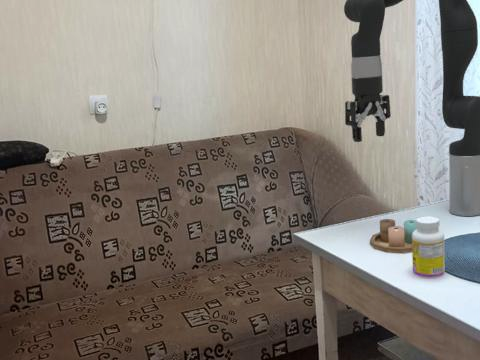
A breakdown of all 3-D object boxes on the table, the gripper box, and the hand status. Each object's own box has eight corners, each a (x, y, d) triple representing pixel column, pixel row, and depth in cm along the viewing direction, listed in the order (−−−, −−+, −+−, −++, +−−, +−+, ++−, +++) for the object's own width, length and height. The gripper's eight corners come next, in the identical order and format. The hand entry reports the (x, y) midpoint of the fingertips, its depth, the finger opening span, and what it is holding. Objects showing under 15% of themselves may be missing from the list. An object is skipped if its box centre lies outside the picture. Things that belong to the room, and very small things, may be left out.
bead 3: (402, 239, 148) (401, 220, 147) (416, 238, 149) (416, 219, 148) (407, 244, 145) (407, 225, 144) (422, 242, 145) (422, 223, 144)
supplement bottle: (416, 268, 132) (415, 214, 129) (446, 271, 129) (446, 215, 126) (409, 279, 126) (408, 223, 124) (441, 283, 123) (441, 225, 120)
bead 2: (390, 244, 146) (389, 225, 144) (405, 245, 144) (405, 226, 143) (387, 250, 142) (386, 230, 141) (403, 251, 141) (402, 231, 140)
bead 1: (387, 236, 152) (386, 217, 151) (398, 239, 149) (398, 220, 147) (377, 240, 150) (376, 221, 148) (388, 243, 147) (388, 224, 145)
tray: (376, 235, 156) (376, 228, 155) (431, 238, 150) (431, 231, 149) (365, 254, 143) (364, 246, 143) (424, 258, 137) (424, 250, 137)
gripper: (374, 72, 153) (376, 133, 157) (335, 78, 145) (338, 142, 149) (397, 71, 147) (399, 135, 151) (358, 78, 139) (361, 144, 143)
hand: (369, 138), depth 150 cm, fingers open, 8 cm apart
